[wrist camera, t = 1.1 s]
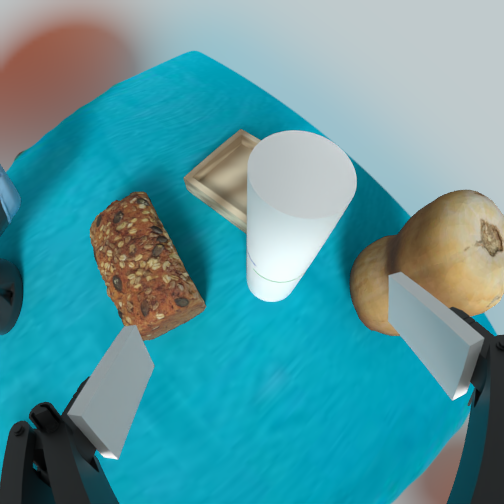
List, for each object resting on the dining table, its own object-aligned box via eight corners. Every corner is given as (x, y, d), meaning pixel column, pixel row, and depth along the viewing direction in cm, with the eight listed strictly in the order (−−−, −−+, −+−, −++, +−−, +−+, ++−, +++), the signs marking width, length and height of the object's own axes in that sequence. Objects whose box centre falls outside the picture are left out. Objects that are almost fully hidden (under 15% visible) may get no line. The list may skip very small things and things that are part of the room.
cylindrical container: (281, 246, 42) (317, 121, 19) (304, 287, 40) (377, 194, 16) (238, 266, 41) (228, 149, 17) (260, 310, 39) (283, 238, 15)
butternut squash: (327, 326, 38) (433, 279, 14) (347, 244, 42) (429, 136, 19) (406, 347, 36) (535, 321, 13) (418, 269, 41) (523, 196, 18)
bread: (211, 310, 39) (200, 296, 29) (148, 345, 36) (119, 341, 27) (158, 211, 44) (140, 176, 35) (105, 242, 42) (76, 214, 33)
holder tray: (187, 190, 45) (183, 177, 42) (241, 142, 49) (240, 129, 46) (252, 238, 42) (252, 228, 39) (303, 180, 46) (307, 168, 43)
